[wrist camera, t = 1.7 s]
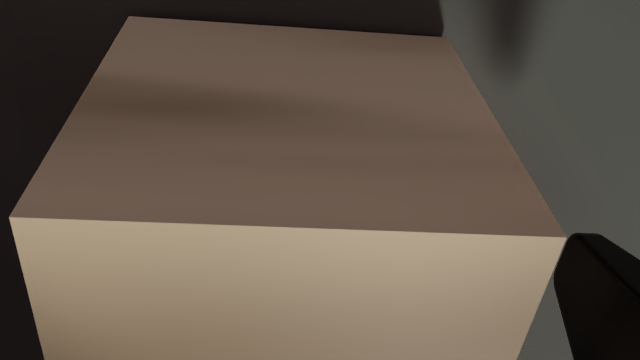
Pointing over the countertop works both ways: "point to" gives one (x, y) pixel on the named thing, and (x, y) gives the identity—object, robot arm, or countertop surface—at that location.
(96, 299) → the birch cube
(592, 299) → the robot arm
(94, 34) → the countertop surface
